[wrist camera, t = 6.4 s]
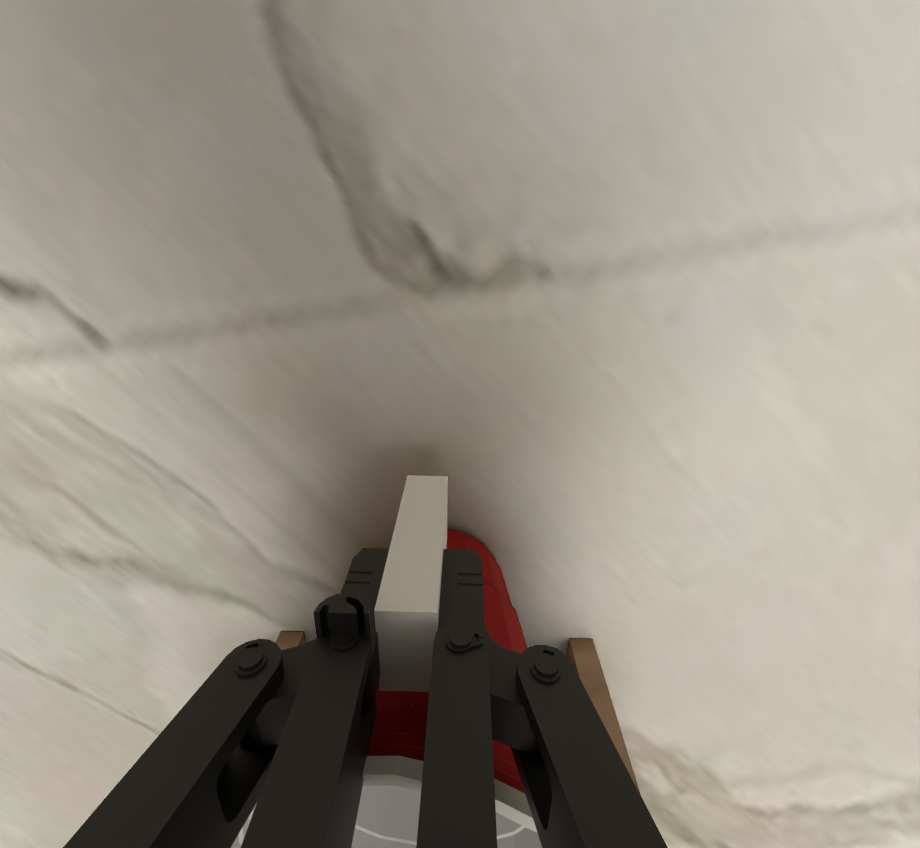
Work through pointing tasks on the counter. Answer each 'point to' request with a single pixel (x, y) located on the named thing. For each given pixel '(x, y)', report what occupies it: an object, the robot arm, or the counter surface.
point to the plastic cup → (403, 743)
